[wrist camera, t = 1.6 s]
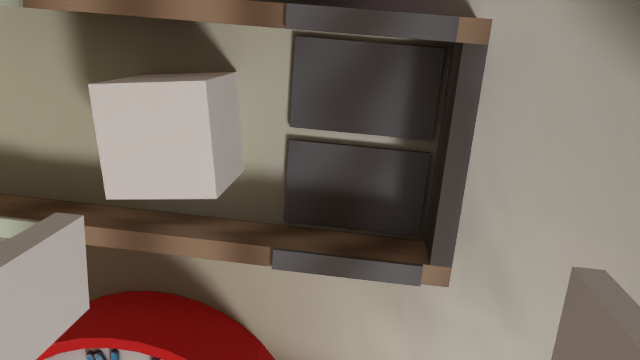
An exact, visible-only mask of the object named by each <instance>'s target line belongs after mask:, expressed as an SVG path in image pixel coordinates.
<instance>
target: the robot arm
mask: <svg viewBox="0 0 640 360" xmlns="http://www.w3.org/2000/svg"><path fill="white" fill-rule="evenodd" d="M89 308H90V307H89V291H88V275H87V260H86V244H85V229H84V215H76V214H66V213H57V212H56V213H54V214H52V215H51V216H49V217H47V218H45V219H43V220H42V221H40V222H38V223H36V224H35V225H33V226H31V227H29V228H27V229H26V230H24V231H22V232H20V233H19V234H17V235H15V236H13V237H11V238H10V239H8V240H6V241H4V242H3V243H1V244H0V360H36V359H37V358H38V357H39V356H40V355H41V354H42V353H43V352H45V351H46V350H47V349H48V348H49V347H50V346H51V345H52V344H53V343H54V342H55V341H56V340H57V339H58V338H59V337H60V336H61V335H62V334H63V333H64V332H65V331H66V330H67V329H68V328H69V327H71V326H72V325H73V324H74V323H75V322H76V321H77V320H78V319H79V318H80V317H81V316H82V315H83V314H84V313H85V312H86V311H87V310H88V309H89ZM551 360H640V306H639V305H638V304H637V303H636V302H635V301H634V300H633V299H632V298H631V297H630V296H629V295H628V294H627V293H626V292H625V291H624V290H623V288H622V287H621V286H620V285H619V284H618V283H617V282H616V281H615V280H614V279H613V278H612V277H611V276H610V275H609V274H608V273H607V272H606V271H605V270H599V269H589V268H580V267H572V270H571V275H570V279H569V284H568V288H567V293H566V297H565V301H564V306H563V310H562V315H561V319H560V324H559V328H558V332H557V337H556V341H555V346H554V350H553V354H552V359H551Z"/></svg>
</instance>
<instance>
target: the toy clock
mask: <svg viewBox="0 0 640 360" xmlns="http://www.w3.org/2000/svg"><path fill="white" fill-rule="evenodd" d="M89 307H90V308H89V309H88V310H87V311H86V312H85V313H84V314H83V315H82V316H81V317H80V318H79V319H78V320H77V321H76V322H75V323H74V324H73V325H72V326H71V327H69V328H68V329H67V330H66V331H65V332H64V333H63V334H62V335H61V336H60V337H59V338H58V339H57V340H56V341H55V342H54V343H53V344H52V345H51V346H50V347H49V348H48V349H47V350H46V351H45V352H43V353H42V354H41V355H40V356H39V357H38V358H37V359H36V360H275V359H274V358H273V357H272V355H271V354H270V353H269V352H268V350H267V349H266V348H265V347H264V345H263V344H262V343H261V342H260V341H259V340H258V339H257V338H256V337H254V336H253V335H252V334H251V333H250V332H249V331H248V330H247V329H246V328H245V327H244V326H242V325H241V324H239V323H238V322H236V321H235V320H233V319H232V318H230V317H229V316H227V315H226V314H224V313H223V312H221V311H218V310H216V309H214V308H212V307H210V306H208V305H206V304H203V303H201V302H199V301H196V300H193V299H189V298H186V297H182V296H179V295H175V294H169V293H162V292H154V291H131V292H121V293H117V294H112V295H107V296H102V297H100V298H97V299H95V300H93V301H90V302H89Z"/></svg>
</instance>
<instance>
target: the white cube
mask: <svg viewBox="0 0 640 360" xmlns="http://www.w3.org/2000/svg"><path fill="white" fill-rule="evenodd" d="M88 87H89V94H90V100H91V107H92V113H93V119H94V126H95V132H96V138H97V145H98V151H99V157H100V164H101V170H102V176H103V183H104V189H105V195H106V200H110V199H217V198H218V197H219V196H220V195H221V194H222V193H223V192H224V191H225V190H226V189H227V188H228V187H229V186H230V185H231V184H232V183H233V182H234V181H235V180H236V178H237V177H238V176H239V175H240V174H241V173H242V172H243V171H244V170H245V166H244V153H243V141H242V129H241V116H240V104H239V91H238V79H237V72H213V73H182V74H151V75H136V76H131V77H125V78H120V79H114V80H108V81H103V82H97V83H92V84H88Z"/></svg>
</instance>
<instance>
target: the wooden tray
mask: <svg viewBox="0 0 640 360" xmlns="http://www.w3.org/2000/svg"><path fill="white" fill-rule="evenodd" d="M0 5H2V6H14V7H27V8H39V9H52V10H64V11H76V12H89V13H101V14H113V15H126V16H138V17H151V18H163V19H175V20H188V21H200V22H212V23H225V24H237V25H249V26H262V27H274V28H286V29H298V30H311V31H323V32H335V33H348V34H360V35H373V36H385V37H397V38H410V39H422V40H434V41H447V42H453V45H452V52H451V59H450V66H449V72H448V79H447V86H446V93H445V100H444V107H443V114H442V121H441V128H440V135H439V142H438V148H437V155H436V162H435V169H434V176H433V183H432V190H431V197H430V204H429V211H428V217H427V224H426V231H425V238H424V241H420V240H411V239H402V238H393V237H384V236H375V235H366V234H357V233H347V232H338V231H329V230H320V229H311V228H302V227H293V226H284V225H275V224H266V223H257V222H248V221H239V220H230V219H221V218H212V217H203V216H194V215H185V214H176V213H166V212H157V211H148V210H139V209H130V208H121V207H112V206H103V205H94V204H85V203H76V202H67V201H58V200H49V199H40V198H31V197H22V196H13V195H4V194H0V237H3V238H11V237H13V236H15V235H17V234H19V233H20V232H22V231H24V230H26V229H27V228H29V227H31V226H33V225H35V224H36V223H38V222H40V221H42V220H43V219H45V218H47V217H49V216H51V215H52V214H54V213H56V212H57V213H66V214H76V215H84V229H85V244H86V245H92V246H100V247H109V248H117V249H126V250H134V251H143V252H152V253H160V254H169V255H177V256H186V257H194V258H203V259H211V260H220V261H229V262H237V263H246V264H254V265H263V266H271V267H272V269H277V270H285V271H294V272H302V273H311V274H319V275H328V276H336V277H345V278H353V279H362V280H370V281H379V282H387V283H396V284H404V285H413V286H420V284H425V285H434V286H443V287H449V281H450V275H451V269H452V262H453V256H454V250H455V244H456V238H457V232H458V226H459V220H460V214H461V208H462V201H463V195H464V189H465V183H466V177H467V171H468V165H469V159H470V153H471V146H472V140H473V134H474V128H475V122H476V116H477V110H478V104H479V98H480V91H481V85H482V79H483V73H484V67H485V61H486V55H487V49H488V43H489V36H490V30H491V24H492V19H483V18H470V17H460V16H448V15H435V14H422V13H409V12H396V11H383V10H370V9H357V8H344V7H331V6H318V5H305V4H292V3H276V2H263V1H250V0H0ZM444 55H445V48H434V47H422V46H409V45H397V44H385V43H373V42H361V41H348V40H336V39H324V38H312V37H300V36H295V48H294V64H293V81H292V97H291V113H290V127H296V128H306V129H317V130H327V131H338V132H348V133H359V134H369V135H380V136H390V137H401V138H411V139H422V140H433V132H434V125H435V118H436V111H437V104H438V97H439V90H440V83H441V76H442V69H443V62H444ZM429 161H430V153H427V152H417V151H407V150H397V149H386V148H376V147H366V146H355V145H345V144H335V143H325V142H314V141H304V140H294V139H289V146H288V162H287V179H286V195H285V211H284V221H286V222H295V223H304V224H313V225H322V226H331V227H340V228H350V229H359V230H368V231H377V232H386V233H395V234H404V235H413V236H419V232H420V224H421V217H422V210H423V203H424V196H425V189H426V182H427V175H428V168H429Z"/></svg>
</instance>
